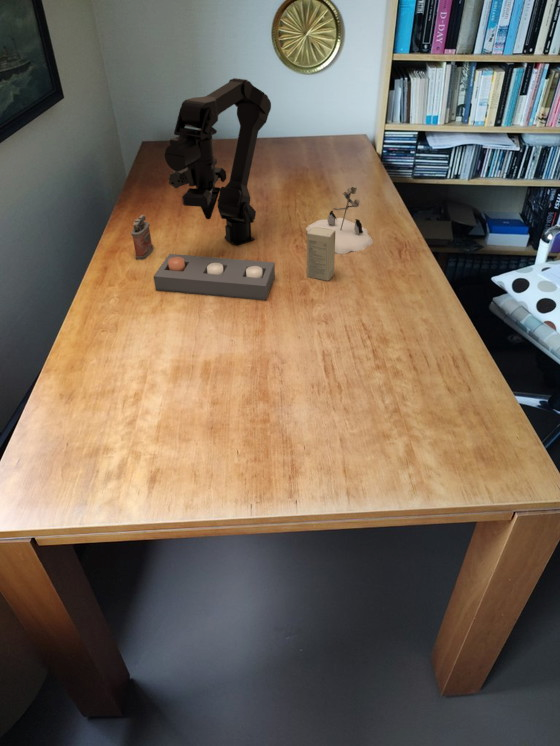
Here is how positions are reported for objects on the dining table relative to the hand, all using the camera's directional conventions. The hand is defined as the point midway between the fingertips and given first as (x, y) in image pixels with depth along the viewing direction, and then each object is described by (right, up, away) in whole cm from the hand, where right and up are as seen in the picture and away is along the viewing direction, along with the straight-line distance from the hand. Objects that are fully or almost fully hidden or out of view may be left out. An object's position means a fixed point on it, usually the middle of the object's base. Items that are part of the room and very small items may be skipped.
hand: (208, 218), depth 142 cm
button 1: (+2, -17, -3) cm, 17 cm away
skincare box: (+29, -15, +1) cm, 32 cm away
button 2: (+12, -18, -4) cm, 22 cm away
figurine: (+36, -1, +18) cm, 40 cm away
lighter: (-19, -7, +11) cm, 23 cm away
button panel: (+2, -17, -2) cm, 18 cm away
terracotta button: (-8, -15, -2) cm, 17 cm away
